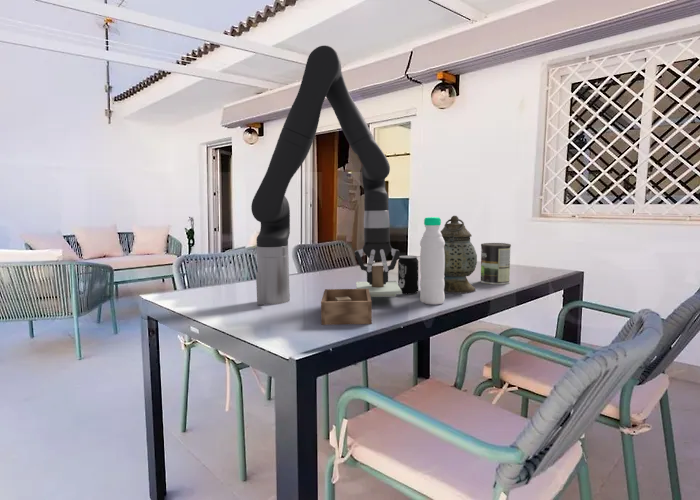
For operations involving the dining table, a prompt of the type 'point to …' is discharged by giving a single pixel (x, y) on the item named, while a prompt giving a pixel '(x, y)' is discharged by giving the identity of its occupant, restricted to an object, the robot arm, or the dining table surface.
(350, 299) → the maple cube
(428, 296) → the water bottle
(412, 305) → the dining table surface
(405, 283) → the beverage can
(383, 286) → the lid
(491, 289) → the dining table surface
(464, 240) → the lantern
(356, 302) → the box
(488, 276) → the coffee can
